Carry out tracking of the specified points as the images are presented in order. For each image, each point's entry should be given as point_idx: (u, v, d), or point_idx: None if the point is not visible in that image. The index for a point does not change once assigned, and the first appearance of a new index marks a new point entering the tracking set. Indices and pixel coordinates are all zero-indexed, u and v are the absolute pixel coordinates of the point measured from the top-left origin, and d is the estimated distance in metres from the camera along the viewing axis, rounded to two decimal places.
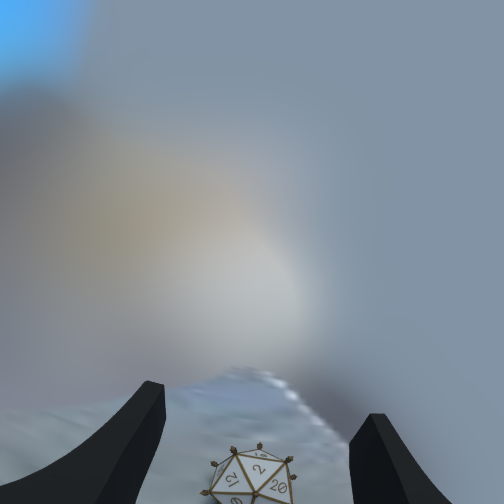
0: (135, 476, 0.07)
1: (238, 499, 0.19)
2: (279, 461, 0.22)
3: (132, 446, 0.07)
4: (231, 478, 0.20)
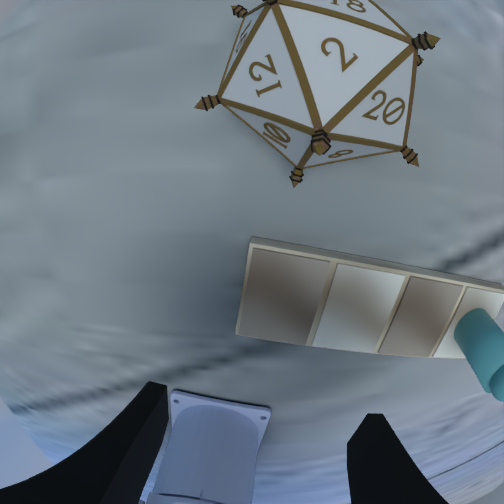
0: (138, 477, 0.07)
1: (280, 129, 0.10)
2: (399, 37, 0.07)
3: (136, 447, 0.07)
4: (262, 71, 0.08)
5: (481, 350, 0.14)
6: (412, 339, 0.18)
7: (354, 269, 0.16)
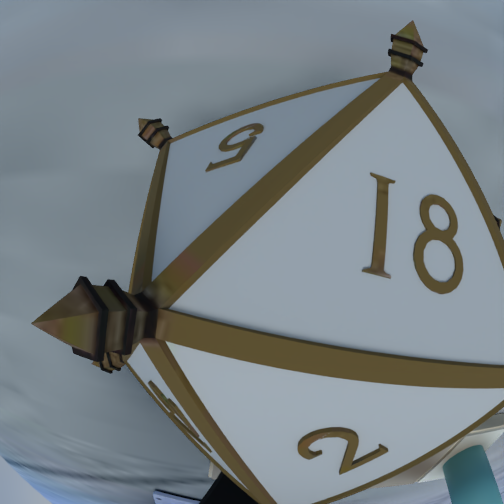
0: None
1: None
2: None
3: None
4: (172, 408, 0.04)
5: (463, 498, 0.10)
6: (396, 477, 0.14)
7: None
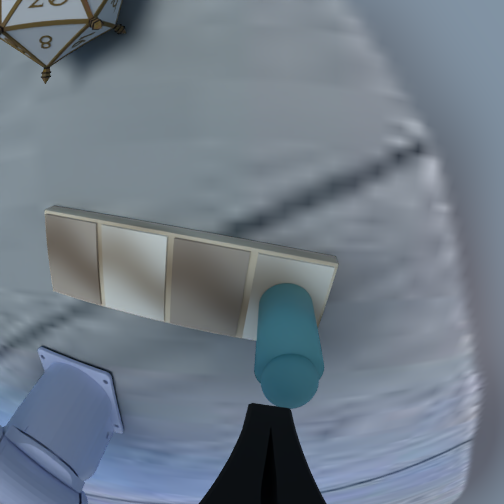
0: None
1: (9, 39, 0.08)
2: None
3: (261, 474, 0.07)
4: None
5: (261, 332, 0.14)
6: (203, 311, 0.18)
7: (116, 230, 0.16)
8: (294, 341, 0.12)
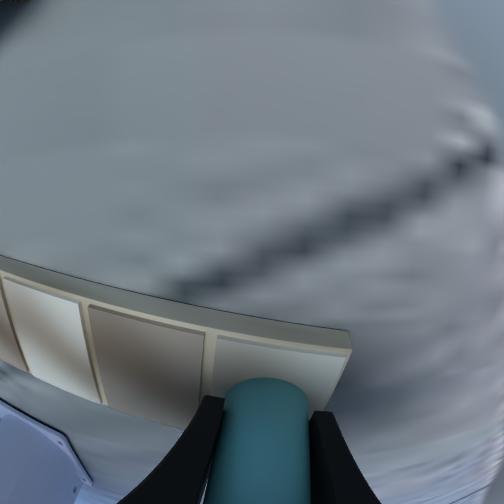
0: (200, 493, 0.07)
1: None
2: None
3: (205, 465, 0.07)
4: None
5: (215, 466, 0.07)
6: (147, 402, 0.11)
7: (18, 287, 0.09)
8: None
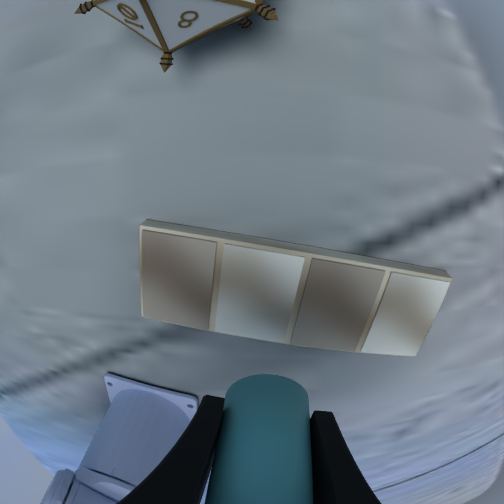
0: (200, 493, 0.07)
1: (127, 6, 0.08)
2: None
3: (205, 465, 0.07)
4: None
5: (217, 463, 0.07)
6: (329, 330, 0.17)
7: (243, 250, 0.16)
8: None
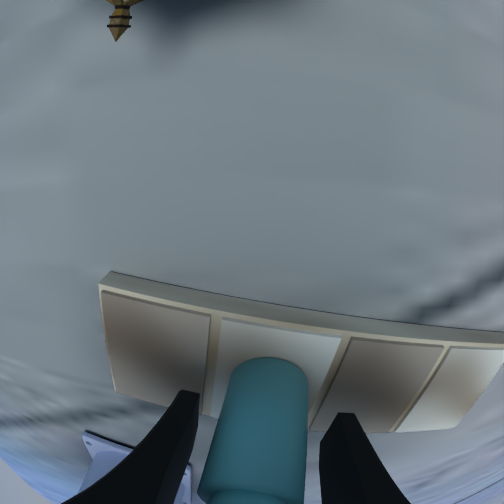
0: (173, 487, 0.07)
1: None
2: None
3: (175, 458, 0.07)
4: None
5: (216, 438, 0.08)
6: (360, 415, 0.12)
7: (250, 328, 0.10)
8: (260, 475, 0.06)
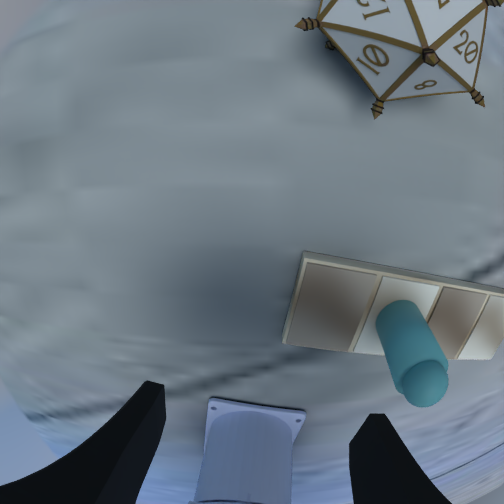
0: (135, 476, 0.07)
1: (381, 52, 0.08)
2: None
3: (132, 446, 0.07)
4: None
5: (397, 343, 0.14)
6: (441, 343, 0.18)
7: (397, 281, 0.17)
8: (433, 349, 0.13)
